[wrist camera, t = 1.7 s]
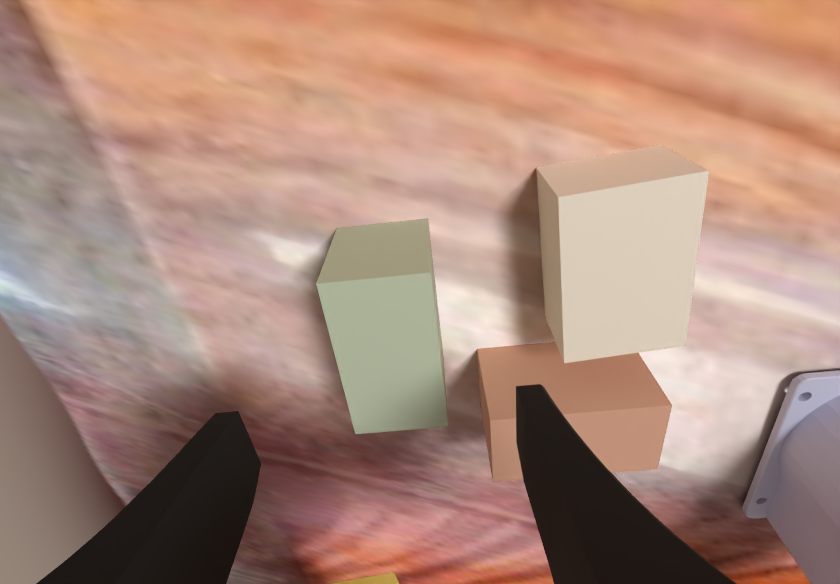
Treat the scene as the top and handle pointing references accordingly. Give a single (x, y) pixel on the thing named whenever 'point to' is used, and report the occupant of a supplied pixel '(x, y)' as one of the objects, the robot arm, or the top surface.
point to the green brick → (385, 325)
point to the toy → (373, 580)
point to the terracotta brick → (575, 405)
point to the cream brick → (620, 250)
